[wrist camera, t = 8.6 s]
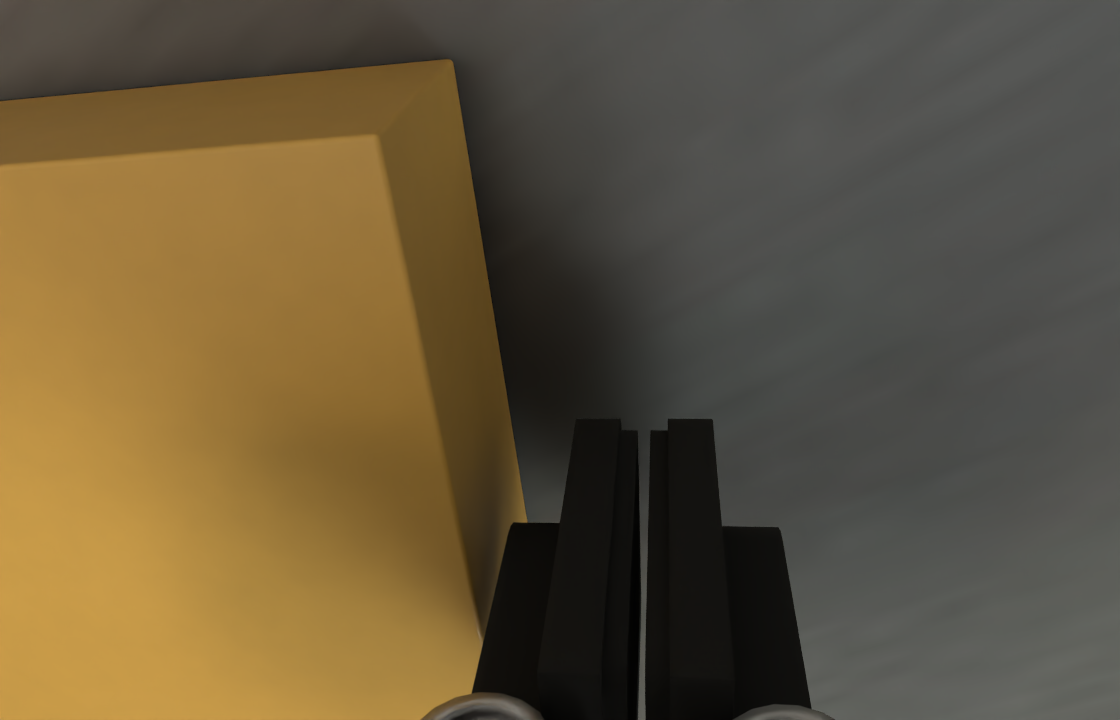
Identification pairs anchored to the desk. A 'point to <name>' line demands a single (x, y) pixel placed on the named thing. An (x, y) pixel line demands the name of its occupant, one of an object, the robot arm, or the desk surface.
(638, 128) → the desk surface
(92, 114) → the orange flat block
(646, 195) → the desk surface
